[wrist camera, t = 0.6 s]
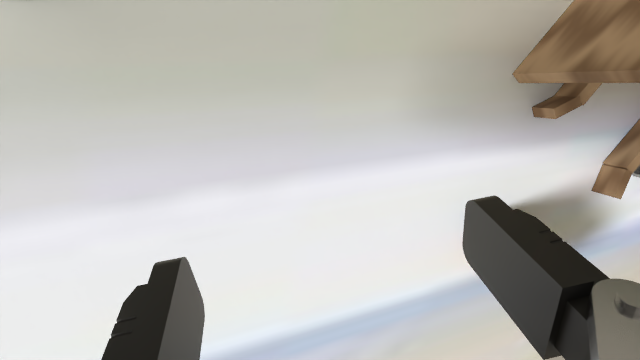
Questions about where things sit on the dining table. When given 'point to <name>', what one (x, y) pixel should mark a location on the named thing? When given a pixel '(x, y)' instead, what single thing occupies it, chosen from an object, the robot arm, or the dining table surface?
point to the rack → (591, 72)
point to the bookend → (637, 172)
